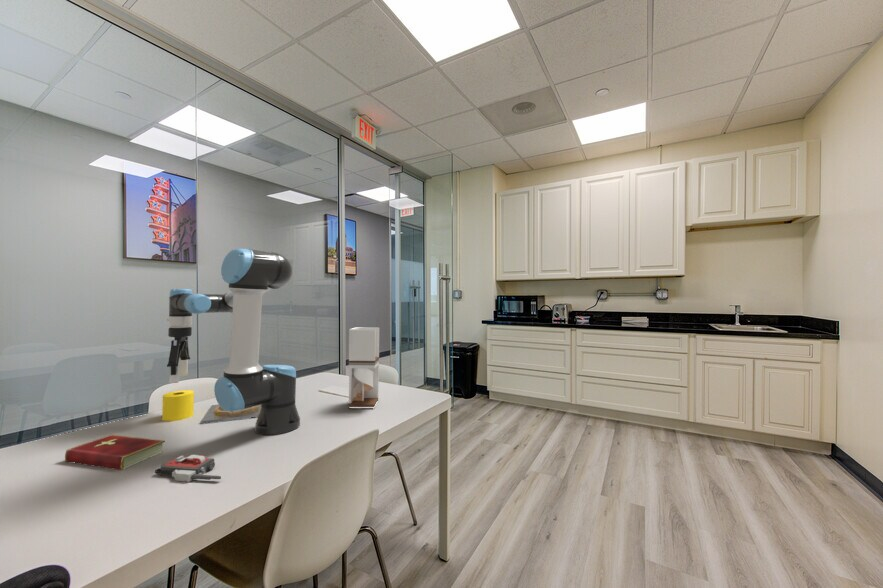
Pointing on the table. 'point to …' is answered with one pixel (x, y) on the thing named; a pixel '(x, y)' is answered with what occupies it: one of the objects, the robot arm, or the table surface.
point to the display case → (363, 366)
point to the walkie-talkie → (188, 468)
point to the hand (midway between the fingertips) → (178, 379)
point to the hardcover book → (114, 451)
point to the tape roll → (178, 405)
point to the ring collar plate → (229, 414)
